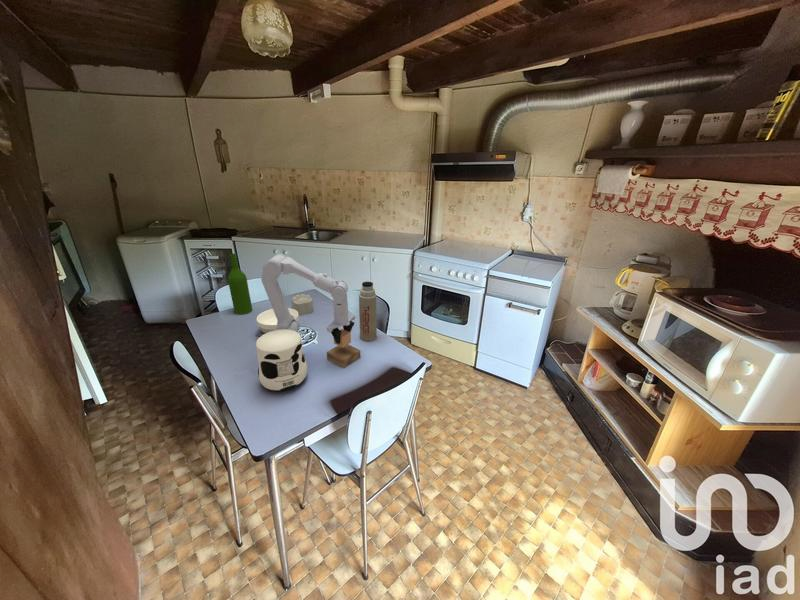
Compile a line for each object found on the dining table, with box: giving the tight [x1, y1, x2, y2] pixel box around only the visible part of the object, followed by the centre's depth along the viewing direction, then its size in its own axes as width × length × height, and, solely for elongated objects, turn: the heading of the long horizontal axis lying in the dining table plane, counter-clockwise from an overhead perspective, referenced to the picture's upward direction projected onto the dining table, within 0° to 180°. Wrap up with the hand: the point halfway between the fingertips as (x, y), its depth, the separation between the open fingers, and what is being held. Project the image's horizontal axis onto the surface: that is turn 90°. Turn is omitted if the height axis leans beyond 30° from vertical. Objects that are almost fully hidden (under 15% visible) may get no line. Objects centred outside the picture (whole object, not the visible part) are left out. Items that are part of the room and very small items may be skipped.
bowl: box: [256, 307, 299, 334], centre depth 150 cm, size 19×19×9 cm
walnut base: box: [326, 344, 361, 369], centre depth 132 cm, size 10×10×4 cm
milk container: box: [255, 329, 308, 392], centre depth 114 cm, size 17×17×18 cm
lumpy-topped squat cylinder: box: [290, 293, 314, 317], centre depth 173 cm, size 10×13×9 cm
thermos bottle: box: [358, 281, 377, 342], centre depth 144 cm, size 8×8×28 cm
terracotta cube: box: [333, 328, 352, 347], centre depth 129 cm, size 5×5×5 cm
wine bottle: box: [227, 253, 253, 316], centre depth 164 cm, size 9×9×32 cm
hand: (342, 340), depth 130 cm, fingers closed on terracotta cube, 5 cm apart
